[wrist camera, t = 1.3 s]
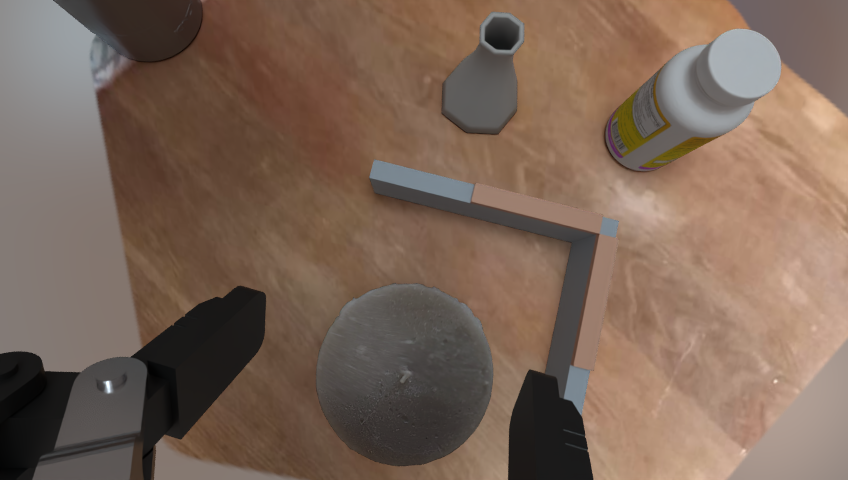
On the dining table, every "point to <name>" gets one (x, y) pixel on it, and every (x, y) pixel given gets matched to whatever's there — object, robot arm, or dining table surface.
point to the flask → (486, 78)
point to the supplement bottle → (693, 99)
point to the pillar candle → (404, 374)
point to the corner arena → (581, 227)
